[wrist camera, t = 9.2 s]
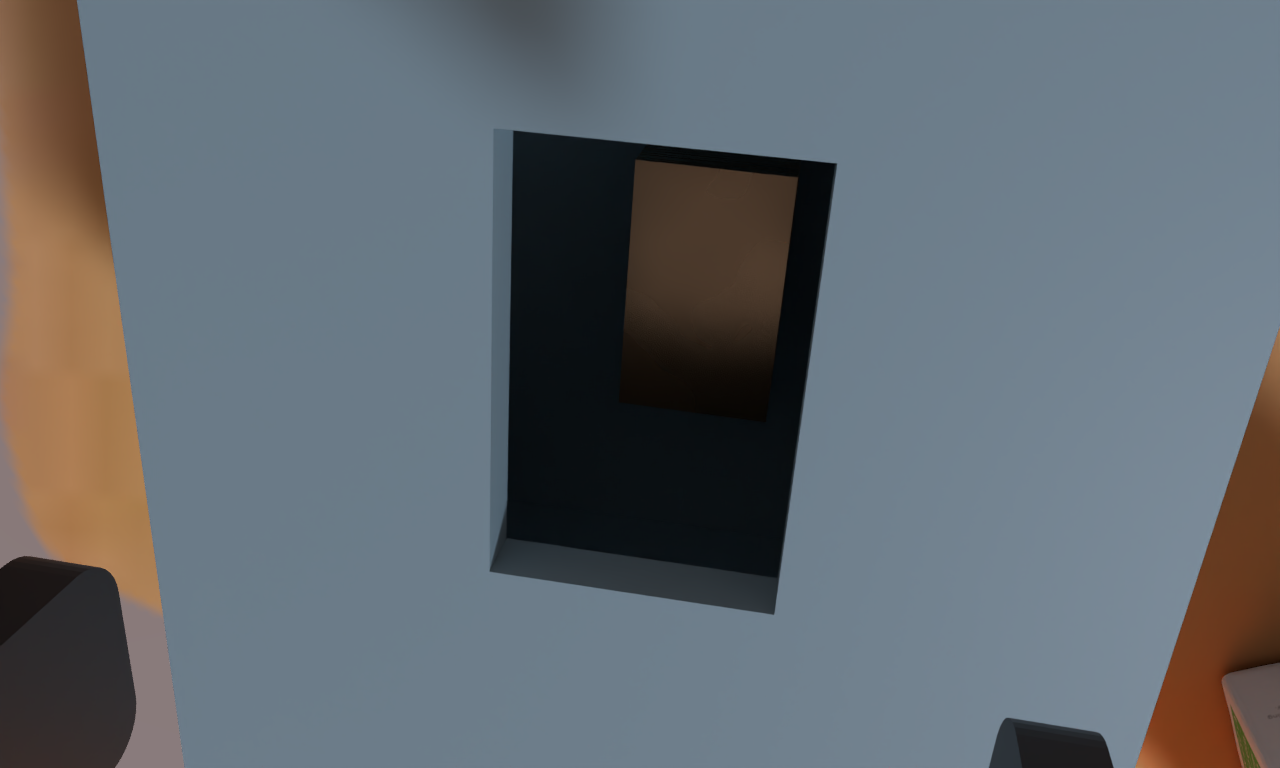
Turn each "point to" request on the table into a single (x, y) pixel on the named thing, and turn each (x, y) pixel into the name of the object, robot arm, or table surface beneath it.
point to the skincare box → (1255, 714)
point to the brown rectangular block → (706, 279)
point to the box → (670, 439)
